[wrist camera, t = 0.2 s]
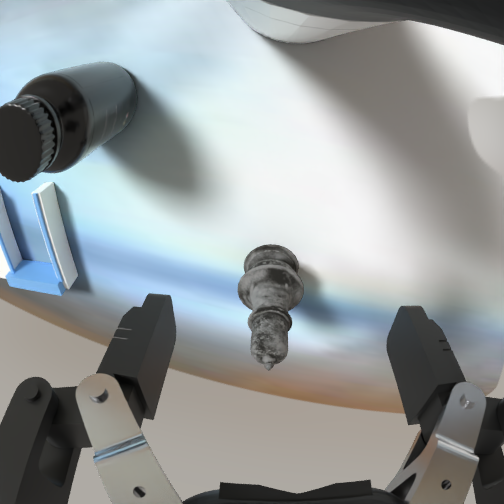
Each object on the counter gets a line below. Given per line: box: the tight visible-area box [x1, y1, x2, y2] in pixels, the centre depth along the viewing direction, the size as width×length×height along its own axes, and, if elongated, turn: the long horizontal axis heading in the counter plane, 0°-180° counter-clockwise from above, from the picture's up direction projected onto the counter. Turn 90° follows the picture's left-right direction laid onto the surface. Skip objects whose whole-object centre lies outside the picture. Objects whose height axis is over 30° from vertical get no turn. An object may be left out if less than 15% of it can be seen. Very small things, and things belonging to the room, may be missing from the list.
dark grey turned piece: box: [238, 244, 304, 371], centre depth 27 cm, size 6×6×12 cm
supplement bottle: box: [0, 62, 137, 182], centre depth 18 cm, size 7×7×12 cm
